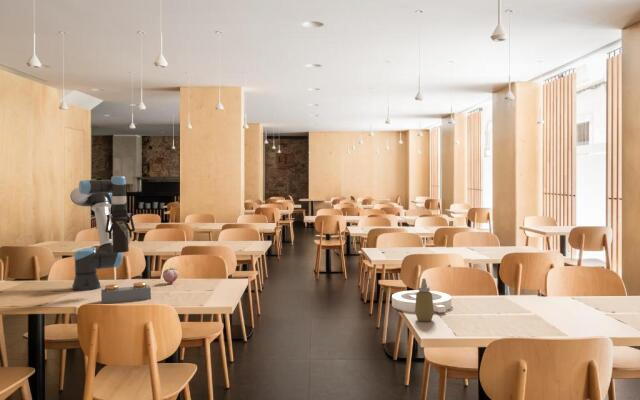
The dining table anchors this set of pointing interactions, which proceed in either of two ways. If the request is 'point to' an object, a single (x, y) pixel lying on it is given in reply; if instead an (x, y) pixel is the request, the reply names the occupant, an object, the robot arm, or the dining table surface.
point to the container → (120, 234)
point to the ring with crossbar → (408, 301)
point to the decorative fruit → (170, 275)
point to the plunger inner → (111, 287)
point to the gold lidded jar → (139, 285)
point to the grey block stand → (125, 294)
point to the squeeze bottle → (424, 303)
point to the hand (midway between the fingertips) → (120, 244)
